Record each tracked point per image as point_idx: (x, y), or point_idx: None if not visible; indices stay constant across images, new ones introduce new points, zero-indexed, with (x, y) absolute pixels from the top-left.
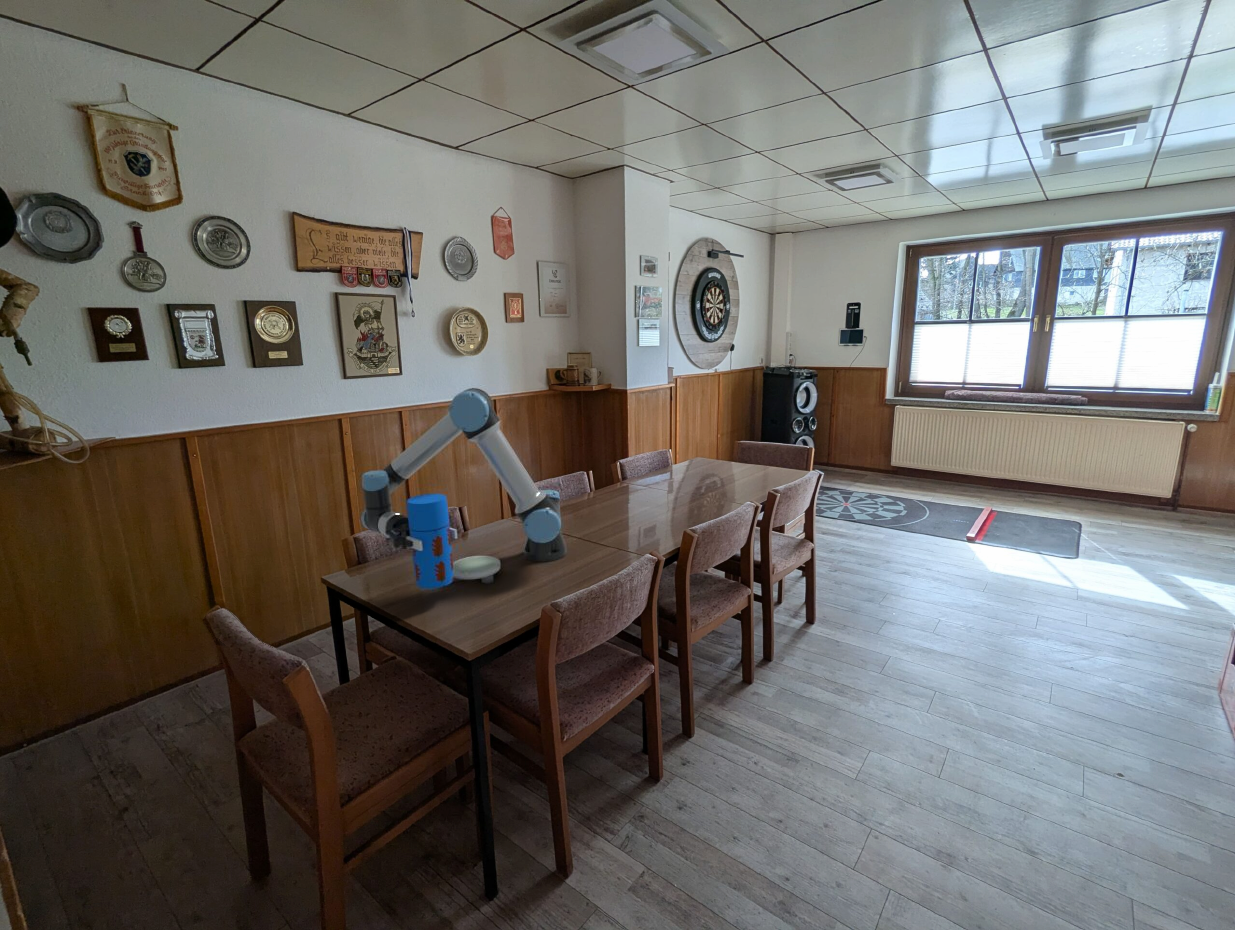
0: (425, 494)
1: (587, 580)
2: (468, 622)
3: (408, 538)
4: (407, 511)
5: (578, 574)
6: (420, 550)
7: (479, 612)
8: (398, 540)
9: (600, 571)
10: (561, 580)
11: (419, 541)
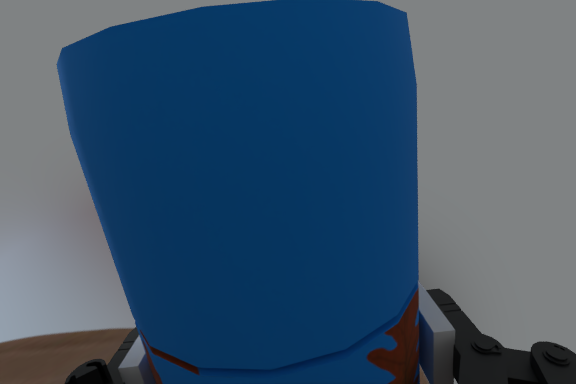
0: (93, 39)
1: (64, 340)
2: None
3: (439, 312)
4: (416, 131)
5: (22, 373)
6: None
7: None
8: (528, 359)
9: (7, 354)
10: (63, 374)
11: None
